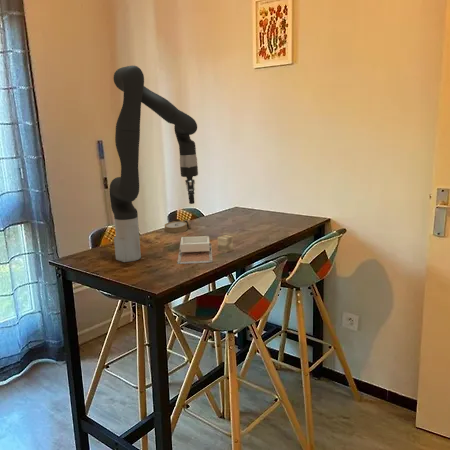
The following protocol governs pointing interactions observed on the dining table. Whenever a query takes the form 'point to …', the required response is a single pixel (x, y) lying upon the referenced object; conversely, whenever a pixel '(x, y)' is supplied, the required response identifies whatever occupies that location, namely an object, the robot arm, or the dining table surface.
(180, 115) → the robot arm
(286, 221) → the dining table surface
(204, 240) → the shallow white tray
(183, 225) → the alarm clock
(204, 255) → the track
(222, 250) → the block
